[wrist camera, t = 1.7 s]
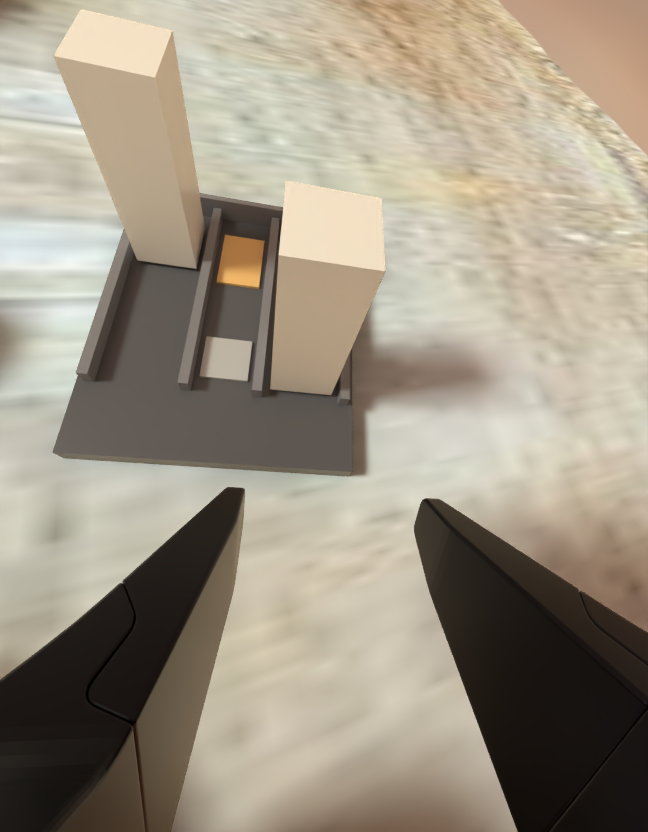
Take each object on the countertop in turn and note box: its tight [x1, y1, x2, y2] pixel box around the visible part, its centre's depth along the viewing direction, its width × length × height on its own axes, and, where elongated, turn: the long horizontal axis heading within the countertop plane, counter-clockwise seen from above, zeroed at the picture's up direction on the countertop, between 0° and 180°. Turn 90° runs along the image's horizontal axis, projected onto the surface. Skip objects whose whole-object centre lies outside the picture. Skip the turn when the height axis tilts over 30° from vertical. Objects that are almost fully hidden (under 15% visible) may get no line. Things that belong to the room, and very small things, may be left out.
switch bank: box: [53, 193, 352, 476], centre depth 24 cm, size 20×17×3 cm
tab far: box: [54, 9, 205, 269], centre depth 21 cm, size 4×4×11 cm
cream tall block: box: [270, 181, 385, 395], centre depth 19 cm, size 4×4×11 cm
